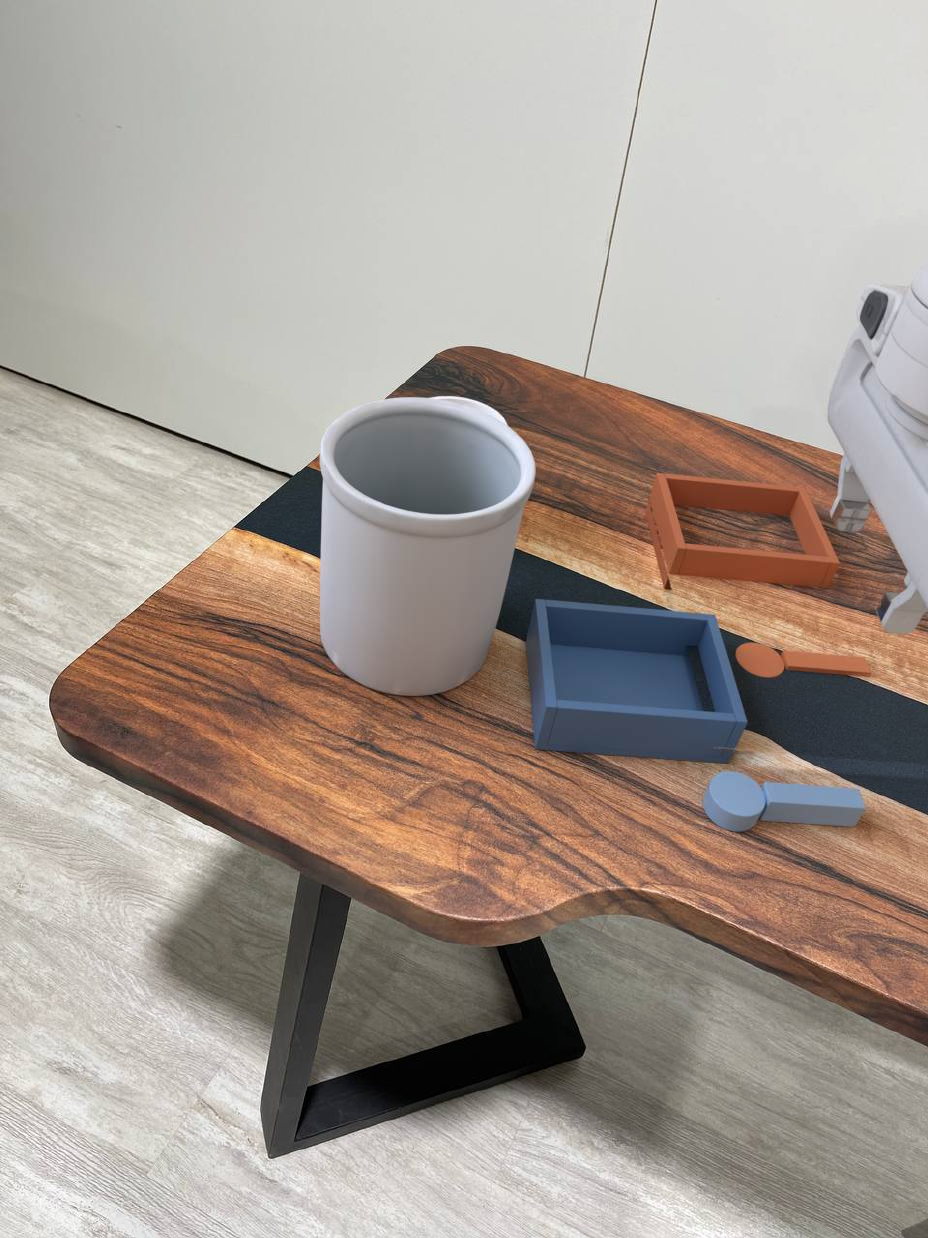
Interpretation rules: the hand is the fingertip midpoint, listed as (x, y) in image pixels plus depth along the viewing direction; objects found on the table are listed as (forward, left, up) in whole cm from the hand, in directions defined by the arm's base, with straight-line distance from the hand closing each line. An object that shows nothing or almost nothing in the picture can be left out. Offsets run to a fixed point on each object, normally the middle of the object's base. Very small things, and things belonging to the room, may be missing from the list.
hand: (866, 572), depth 61 cm
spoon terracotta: (-6, -12, -20) cm, 24 cm away
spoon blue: (-1, +2, -20) cm, 20 cm away
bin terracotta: (-4, -28, -20) cm, 34 cm away
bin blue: (+9, -8, -20) cm, 23 cm away
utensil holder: (+26, -13, -20) cm, 36 cm away
